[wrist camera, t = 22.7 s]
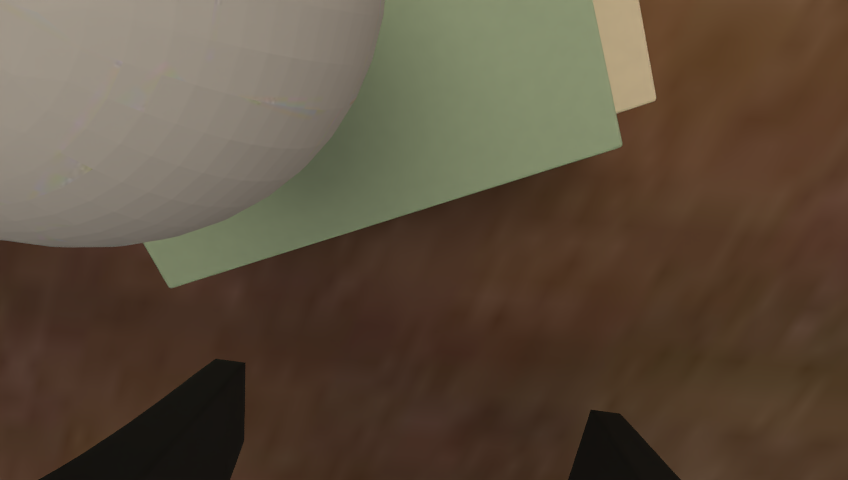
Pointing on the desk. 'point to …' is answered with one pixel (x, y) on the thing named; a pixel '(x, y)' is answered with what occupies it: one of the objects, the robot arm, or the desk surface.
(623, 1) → the drawer
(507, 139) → the cabinet
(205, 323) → the desk surface
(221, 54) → the light bulb
